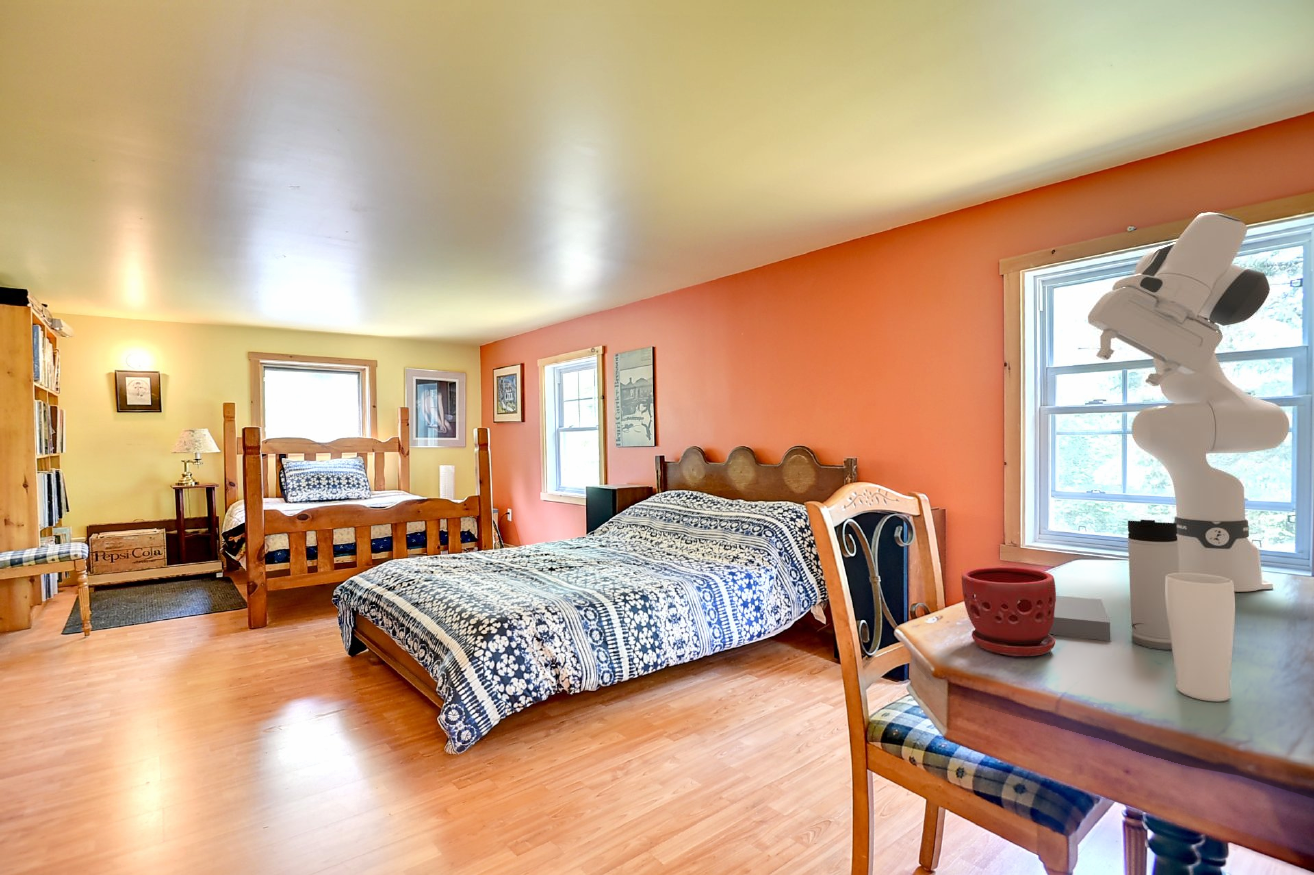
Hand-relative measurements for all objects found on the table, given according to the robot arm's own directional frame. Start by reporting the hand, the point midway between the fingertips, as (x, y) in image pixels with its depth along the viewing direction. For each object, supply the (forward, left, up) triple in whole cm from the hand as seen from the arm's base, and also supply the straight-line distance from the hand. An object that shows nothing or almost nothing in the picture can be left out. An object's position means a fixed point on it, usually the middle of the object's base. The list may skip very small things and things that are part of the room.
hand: (1126, 371), depth 111 cm
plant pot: (+23, -19, -45) cm, 54 cm away
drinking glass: (+33, +3, -45) cm, 56 cm away
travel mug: (+12, +1, -45) cm, 46 cm away
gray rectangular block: (+5, -12, -44) cm, 46 cm away
